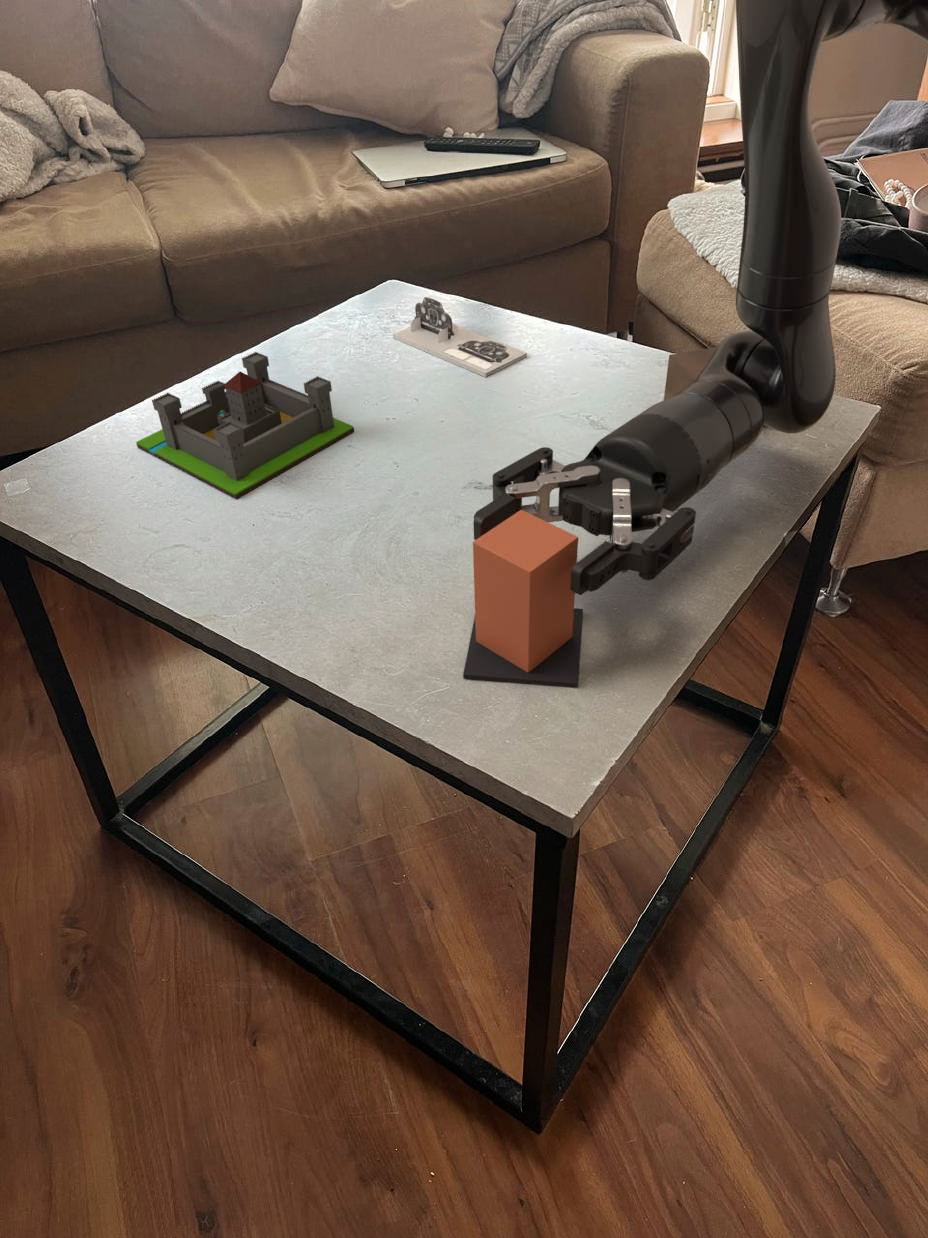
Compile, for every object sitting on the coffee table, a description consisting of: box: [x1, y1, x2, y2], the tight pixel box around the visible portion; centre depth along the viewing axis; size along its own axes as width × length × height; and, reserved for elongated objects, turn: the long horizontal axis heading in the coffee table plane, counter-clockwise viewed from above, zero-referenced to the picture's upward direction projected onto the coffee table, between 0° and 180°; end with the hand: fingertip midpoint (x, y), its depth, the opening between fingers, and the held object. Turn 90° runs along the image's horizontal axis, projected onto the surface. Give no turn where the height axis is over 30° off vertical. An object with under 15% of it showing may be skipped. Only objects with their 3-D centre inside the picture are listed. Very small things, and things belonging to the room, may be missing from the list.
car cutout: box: [392, 296, 528, 378], centre depth 104 cm, size 15×7×4 cm, turn 45°
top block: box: [472, 510, 579, 673], centre depth 64 cm, size 5×5×9 cm
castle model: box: [135, 351, 355, 500], centre depth 89 cm, size 15×15×7 cm
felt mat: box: [462, 607, 584, 688], centre depth 67 cm, size 8×8×1 cm
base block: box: [663, 346, 766, 427], centre depth 91 cm, size 8×8×5 cm
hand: (524, 556), depth 62 cm, fingers open, 8 cm apart
